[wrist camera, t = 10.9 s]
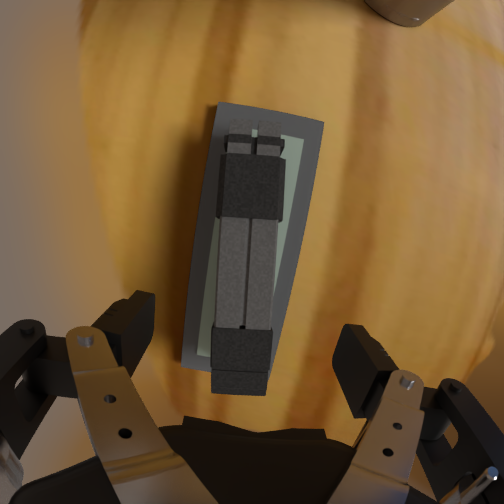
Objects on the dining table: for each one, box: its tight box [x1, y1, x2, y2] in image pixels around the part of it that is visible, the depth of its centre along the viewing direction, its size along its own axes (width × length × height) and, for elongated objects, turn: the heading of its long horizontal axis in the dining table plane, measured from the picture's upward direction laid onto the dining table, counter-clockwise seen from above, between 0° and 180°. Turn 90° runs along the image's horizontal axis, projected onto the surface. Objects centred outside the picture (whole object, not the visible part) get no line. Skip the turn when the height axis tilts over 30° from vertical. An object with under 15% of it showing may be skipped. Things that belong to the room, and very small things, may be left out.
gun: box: [210, 119, 286, 396], centre depth 23 cm, size 4×20×10 cm, turn 176°
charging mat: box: [181, 102, 324, 380], centre depth 25 cm, size 25×9×1 cm, turn 170°
